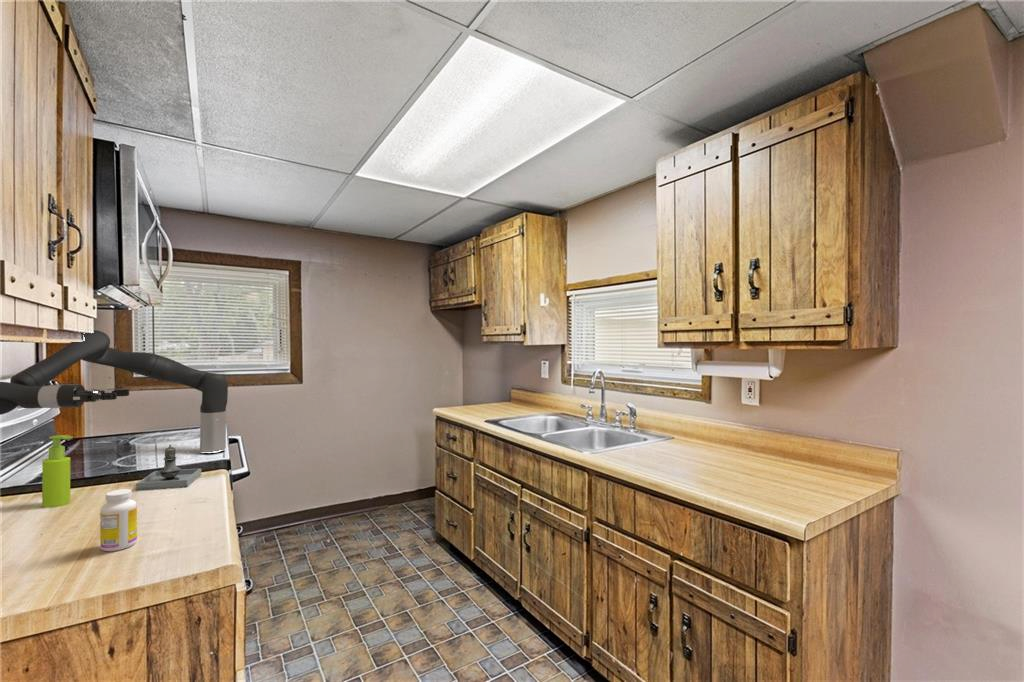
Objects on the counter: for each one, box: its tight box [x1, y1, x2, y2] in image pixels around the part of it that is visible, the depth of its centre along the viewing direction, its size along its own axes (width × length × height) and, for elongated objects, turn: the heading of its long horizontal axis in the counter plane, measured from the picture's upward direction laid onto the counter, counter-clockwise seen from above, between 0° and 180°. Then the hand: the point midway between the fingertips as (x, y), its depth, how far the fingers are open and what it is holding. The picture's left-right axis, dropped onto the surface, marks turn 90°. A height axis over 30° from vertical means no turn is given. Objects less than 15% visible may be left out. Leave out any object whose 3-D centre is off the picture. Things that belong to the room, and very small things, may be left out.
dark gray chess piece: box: [158, 444, 182, 481], centre depth 159 cm, size 6×6×12 cm
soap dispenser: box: [41, 434, 74, 508], centre depth 138 cm, size 6×7×20 cm
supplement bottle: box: [99, 488, 138, 552], centre depth 112 cm, size 7×7×13 cm
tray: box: [135, 468, 202, 492], centre depth 159 cm, size 14×14×2 cm
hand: (122, 394), depth 157 cm, fingers open, 8 cm apart
